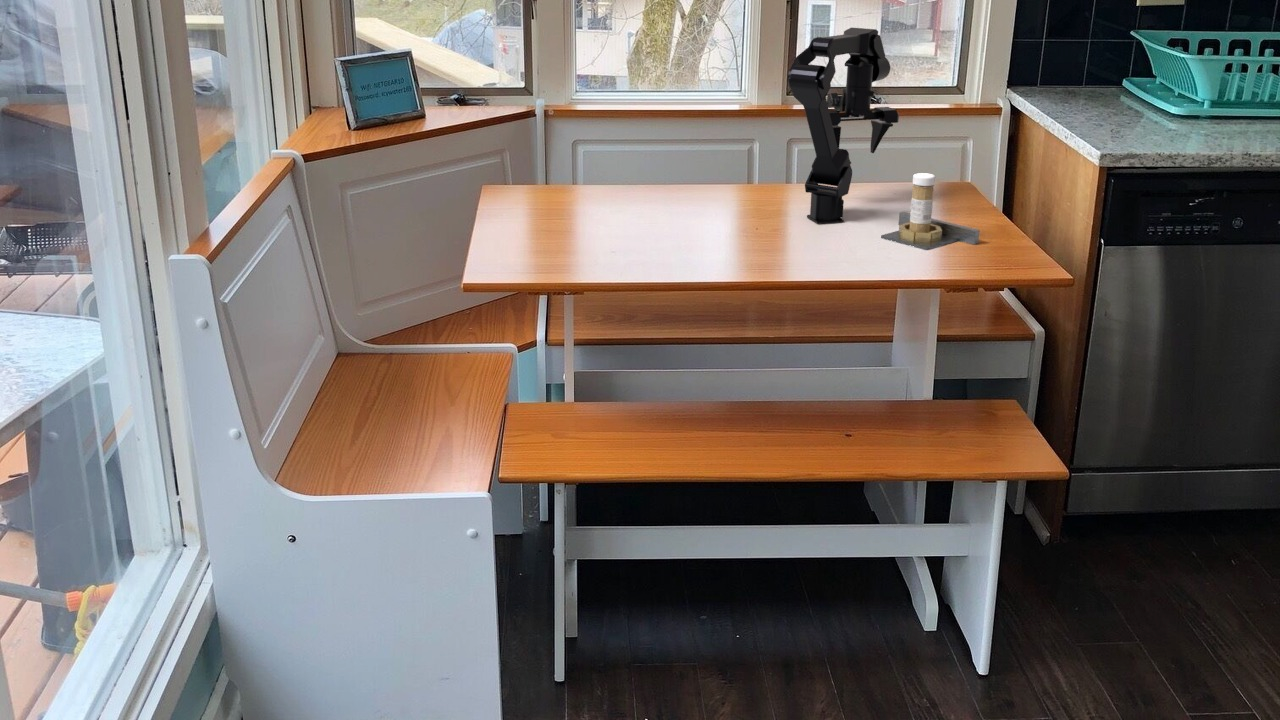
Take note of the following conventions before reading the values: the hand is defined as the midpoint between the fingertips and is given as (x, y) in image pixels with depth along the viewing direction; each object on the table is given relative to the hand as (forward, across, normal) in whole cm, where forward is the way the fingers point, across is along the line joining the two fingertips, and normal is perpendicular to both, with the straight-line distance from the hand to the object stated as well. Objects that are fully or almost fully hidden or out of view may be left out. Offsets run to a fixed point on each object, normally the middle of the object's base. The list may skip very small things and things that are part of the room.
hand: (854, 153), depth 279 cm
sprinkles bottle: (+13, -3, +28) cm, 31 cm away
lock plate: (+13, -3, +28) cm, 31 cm away
